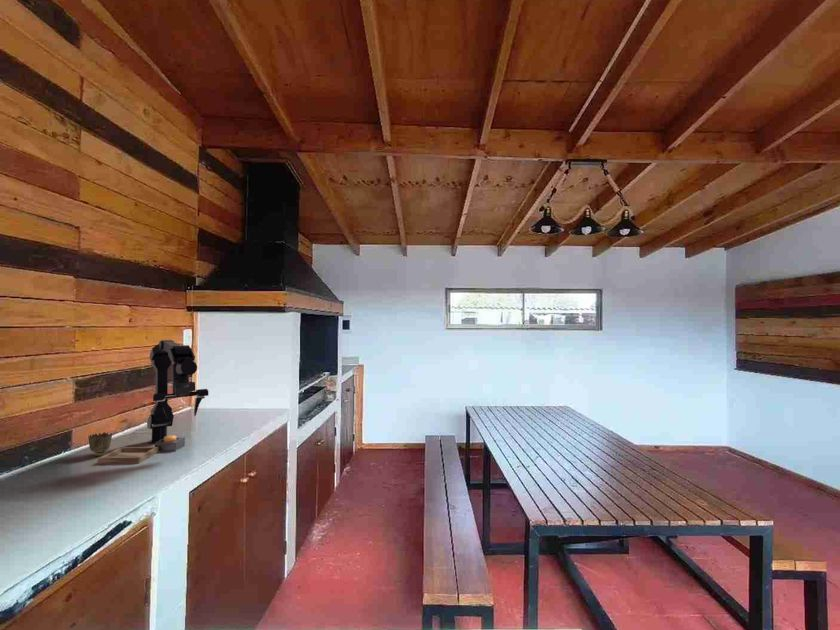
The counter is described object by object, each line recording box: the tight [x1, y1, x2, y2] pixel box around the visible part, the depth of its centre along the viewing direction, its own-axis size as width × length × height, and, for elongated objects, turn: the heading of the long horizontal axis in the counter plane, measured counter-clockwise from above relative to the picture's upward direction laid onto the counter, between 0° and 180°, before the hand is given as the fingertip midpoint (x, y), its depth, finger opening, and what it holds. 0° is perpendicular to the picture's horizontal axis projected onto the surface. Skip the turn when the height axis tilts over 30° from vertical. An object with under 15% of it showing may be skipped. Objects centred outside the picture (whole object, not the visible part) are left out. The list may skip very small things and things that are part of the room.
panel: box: [154, 436, 186, 452], centre depth 175 cm, size 8×8×4 cm
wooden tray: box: [97, 446, 160, 465], centre depth 162 cm, size 14×14×2 cm
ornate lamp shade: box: [87, 432, 113, 457], centre depth 165 cm, size 8×7×8 cm
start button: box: [164, 434, 177, 442], centre depth 175 cm, size 4×4×2 cm
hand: (181, 417), depth 166 cm, fingers open, 9 cm apart
